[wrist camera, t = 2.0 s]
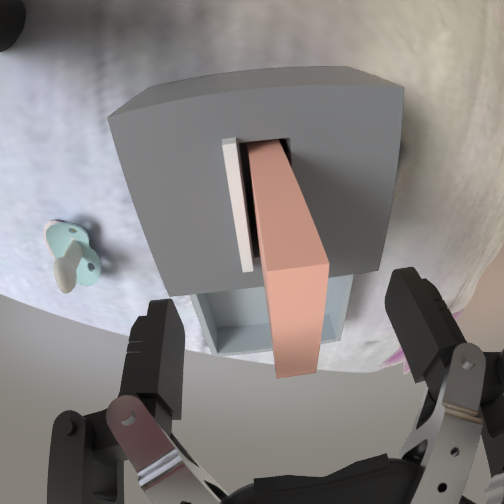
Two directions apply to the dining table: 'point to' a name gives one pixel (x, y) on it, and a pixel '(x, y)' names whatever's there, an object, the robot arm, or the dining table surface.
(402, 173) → the dining table surface
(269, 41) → the dining table surface
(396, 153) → the dispenser
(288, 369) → the tall pink plank
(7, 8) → the drinking cup
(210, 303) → the bin
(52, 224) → the pacifier
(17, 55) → the dining table surface
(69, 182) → the dining table surface
